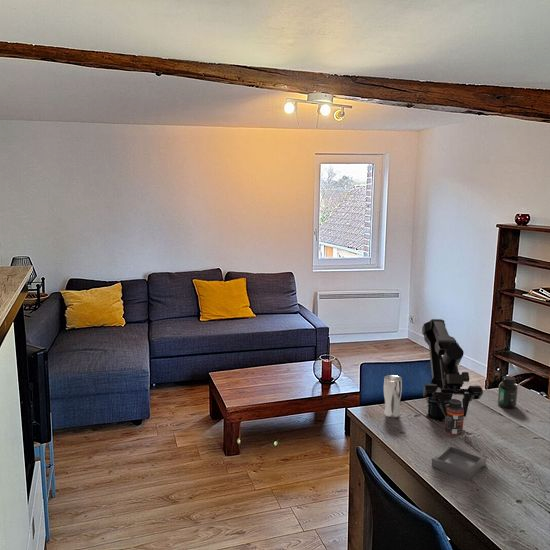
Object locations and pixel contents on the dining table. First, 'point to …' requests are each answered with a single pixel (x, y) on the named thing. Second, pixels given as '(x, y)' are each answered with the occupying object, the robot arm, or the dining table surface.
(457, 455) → the tray
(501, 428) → the dining table surface
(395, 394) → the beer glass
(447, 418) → the supplement bottle
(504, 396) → the supplement bottle
